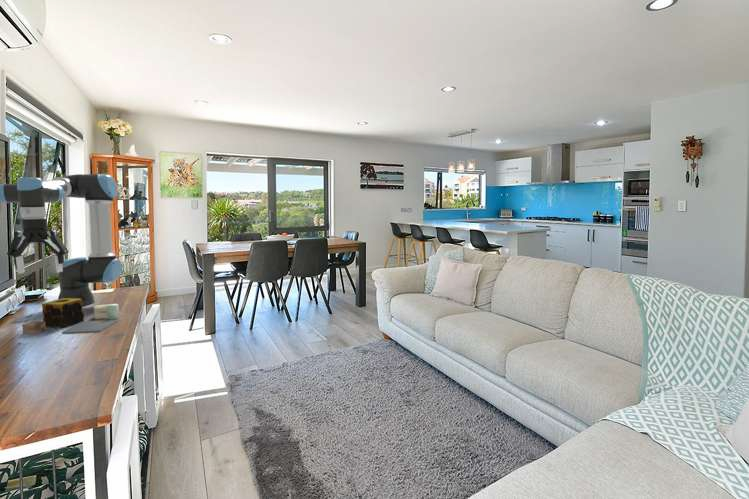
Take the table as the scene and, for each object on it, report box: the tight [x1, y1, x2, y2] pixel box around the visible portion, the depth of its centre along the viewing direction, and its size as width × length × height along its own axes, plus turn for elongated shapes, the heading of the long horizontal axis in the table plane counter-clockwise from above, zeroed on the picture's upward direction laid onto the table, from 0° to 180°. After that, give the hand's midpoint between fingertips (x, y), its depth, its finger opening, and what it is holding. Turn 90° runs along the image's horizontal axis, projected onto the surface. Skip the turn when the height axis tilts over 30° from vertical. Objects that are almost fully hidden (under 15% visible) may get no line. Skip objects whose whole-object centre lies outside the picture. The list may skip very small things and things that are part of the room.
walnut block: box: [21, 320, 47, 335], centre depth 161 cm, size 5×5×4 cm
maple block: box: [93, 303, 109, 320], centre depth 181 cm, size 5×5×5 cm
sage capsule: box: [106, 303, 120, 320], centre depth 178 cm, size 4×4×6 cm
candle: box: [41, 298, 85, 329], centre depth 171 cm, size 10×10×10 cm
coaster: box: [61, 319, 119, 334], centre depth 167 cm, size 14×14×1 cm
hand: (40, 272), depth 158 cm, fingers open, 13 cm apart
